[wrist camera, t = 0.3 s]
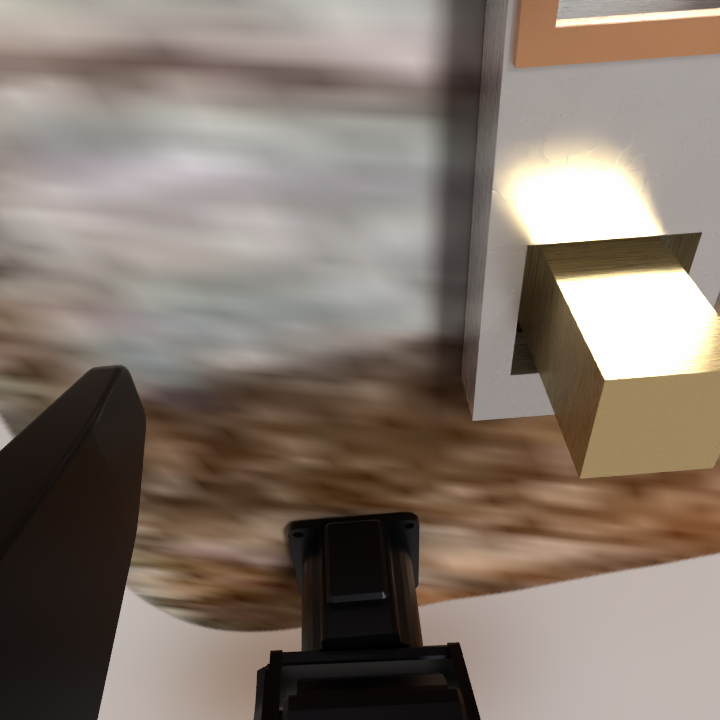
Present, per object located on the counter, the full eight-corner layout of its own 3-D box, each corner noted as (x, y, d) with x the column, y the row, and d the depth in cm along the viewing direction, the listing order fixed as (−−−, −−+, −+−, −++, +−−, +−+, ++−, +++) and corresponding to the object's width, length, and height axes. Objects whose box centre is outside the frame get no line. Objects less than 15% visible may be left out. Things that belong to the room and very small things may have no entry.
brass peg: (619, 307, 26) (713, 468, 20) (516, 315, 26) (579, 478, 20) (642, 214, 24) (758, 368, 18) (528, 223, 24) (604, 380, 18)
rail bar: (652, 362, 28) (681, 410, 26) (461, 377, 28) (473, 426, 26) (907, -453, 14) (1016, -492, 12) (514, -428, 14) (552, -463, 12)
